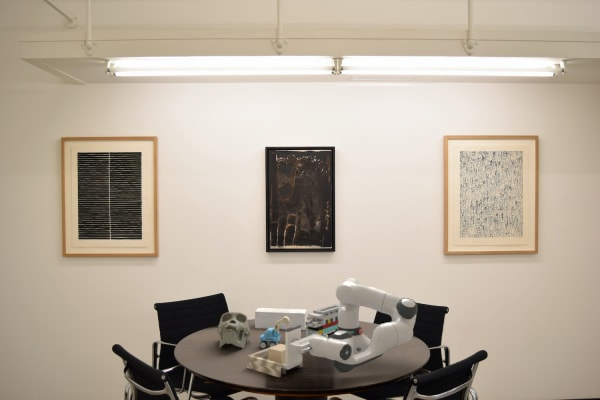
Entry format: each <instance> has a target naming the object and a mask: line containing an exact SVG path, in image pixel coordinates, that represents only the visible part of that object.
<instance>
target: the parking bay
mask: <svg viewBox="0 0 600 400" xmlns="http://www.w3.org/2000/svg"><path fill="white" fill-rule="evenodd" d="M268 348H270V347H266V348H263V349H262V350H259V351H256V352H254V353H251V354H248V355H247V357H246V358H247V366H246V368H247V369H250V370H253V371H256V372H260V373H263V374H266V375H270V376H273V377H277V378H282V374H281V370H282V368H281V363H277V362H274V361H270V360H267V359H268ZM303 355H304V353H302V354H301V364H300V365H301V366H300V367H299V368H303V367H304V366H303V363H304V362H303V359H304V358H303Z"/></svg>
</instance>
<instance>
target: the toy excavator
mask: <svg viewBox="0 0 600 400" xmlns="http://www.w3.org/2000/svg"><path fill="white" fill-rule="evenodd" d="M284 322H285V323H286V326H288V325H289V324H290V319H289V317H287V316H285V317H284V318H283V319H281V320H279V321H277V322H276V323H275V328H269V329H265V331H264V333H263V334H261V335H259V340H260V342H259V347H260V348H261V349H267V348H269V347H273V346H276V345H278V344H280V340H281V337H282V335H281V332H280V329H279V325H281V324H282V323H284Z"/></svg>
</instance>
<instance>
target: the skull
mask: <svg viewBox="0 0 600 400" xmlns="http://www.w3.org/2000/svg"><path fill="white" fill-rule="evenodd" d="M217 333H218V335H219V337H220V339H219V340H220V341H219V349H222V347H223V346H224V345H225V344H227V345H229V344H231V345H233V346H235V347H238V348H241V349H244V348H245V347H246V343H247V340H248V339H249V337H250V336H251V334H252V332H251V330H250V324H249V322H248V315H247V314H244V313H242V312H239V311H235V312H233V311H228V312H225V313H223V314H222V315H221V317H220V319H219V324H218V326H217Z"/></svg>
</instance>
